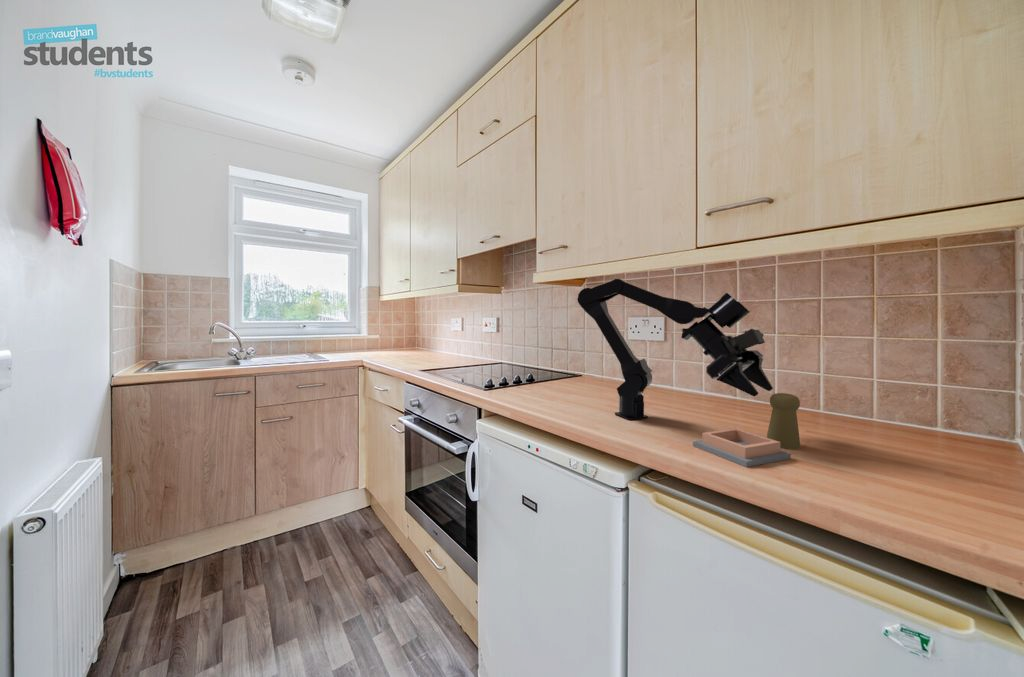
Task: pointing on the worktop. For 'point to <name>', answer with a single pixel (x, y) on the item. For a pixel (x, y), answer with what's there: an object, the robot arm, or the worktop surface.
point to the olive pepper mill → (784, 420)
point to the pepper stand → (741, 447)
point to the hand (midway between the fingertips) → (764, 392)
